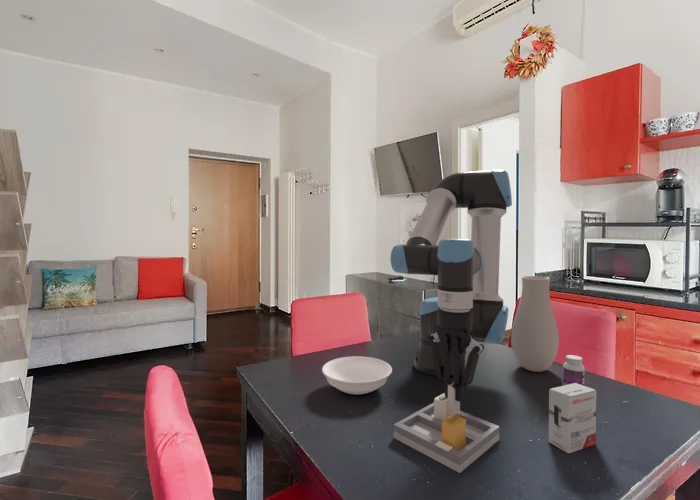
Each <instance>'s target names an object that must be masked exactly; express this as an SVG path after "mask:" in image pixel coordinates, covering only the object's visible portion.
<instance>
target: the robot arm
mask: <svg viewBox="0 0 700 500" xmlns="http://www.w3.org/2000/svg"><path fill="white" fill-rule="evenodd" d="M425 199H426V201H425V202H426V205H425V207H424V208H423V210H422V212H421V215H420V216H419V217H418V221H417V222H416V224H415V226H414V228H413V230H412V232H411V233H410V236H409V237H408V239H407V242H406V243H405V244H396V245H394V246H393V247H392V249H391V251H390V258H389V259H390V266H391V268H392V270H393V272H395V273H399V274H406V275H426V276H437V296H435V297H428V298H426V299H423V300H422V301H421V302H420V307H419V308H420V309H419V314H418V315H419V345H418V347H417V350H416V354H415V357H414V360H413V363H414V364H413V365H414V368H415V369H416V371H417V372H420V373H421V374H422V373H423V374H425V375H429V376H433V377H437V379H439V380H442V381H443V384H444V393H445V397H448V414H449V415H452V414H454V415H455V414H458V413H459V412H460V411H461V401H462V400H463V399H464V388H466V387H468V386H470V385H472V384H473V380H474V378H475V373H476V370H477V365H478V362H479V357H480V355H481V353H482V352H483V351H484V350H485V346H484V345H486V344H491V345H500V344H501V343H502V342H503V340H504V337H505V333H506V329H507V323H508V317H509V307H508V306H506V305H504V299H503V298H502V297H501V296H500V294H499V284H500V283H499V281H500V259H501V257H500V256H501V255H500V254H501V251H500V250H501V230H502V229H501V227H502V226H501V225H502V223H501V221H502V217H504V215H506V214H507V208H510V207H512V205H513V198H512V189H511V183H510V176H509V173H508V172H507V171H506V170H505V169H489V170H486V169H485V170H475V171H465V172H464V171H460V172H459V171H458V172H455V173H452V174H449V175H447V176H445V177H444V178H442V179H440V180H439V181H438V182H436V184H435V185H433V186H432V188H431V189H430V191H429V193H427V196H426V198H425ZM455 209H467V214H468V215H469V216H470V217H471V238H470V239H469V238H442V239H440V237H441V234H442V233H443V232H442V231H443V230H444V227H445V225H446V222H447V220H448V218H449V215H450V214H451V213H453V211H454V210H455ZM439 239H440V240H439ZM437 243H438V244H437ZM468 347H469V351H470V352H469V354H468V356H467V360H466V354H467V348H468Z"/></svg>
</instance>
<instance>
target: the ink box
mask: <svg viewBox="0 0 700 500" xmlns="http://www.w3.org/2000/svg"><path fill="white" fill-rule="evenodd" d="M548 392H549V393H548V443H550V444H552V445H553V446H555V447H557V448H558V449H560V450H561V451H563V452H565V453H567V455H568V454H572V453H574V452H577V451H580V450H584V449H587V448H589V447H593V446H595V445H596V444H597V440H596V436H597V433H596V432H597V390H596V389H595V388H592V387H588V386H585V385H584V386H583V385H580V384H577V383H572V384H568V385H564V386H562V385H560V386H556V387H552V388H549V389H548Z"/></svg>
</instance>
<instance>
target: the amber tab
mask: <svg viewBox="0 0 700 500" xmlns="http://www.w3.org/2000/svg"><path fill="white" fill-rule="evenodd" d="M442 442H443V443H445V444H447V445H449V446H451V447H453V449H455V450H457V451H459V450H460V449H461V448H463V447H464V446H465V444H466V419H464V418H461V417H460V414H455V415H454V414H452V415H450V416H449V417H447V418H445V419H444V420H442Z"/></svg>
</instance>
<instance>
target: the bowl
mask: <svg viewBox="0 0 700 500" xmlns="http://www.w3.org/2000/svg"><path fill="white" fill-rule="evenodd" d="M321 372H322V374H323V375H324V376H325V377H326V380H327V382H328V384H329V385H330V386H332V387H334V388H336V389H337V390H338V391H341V392H343V393H345V394H349V395H356V396H357V395H364V394H369V393H371V392H374V391H375V390H378V389H379V388H381V387H382V386H384V385H385V384H386V383H387V380H388V378H389V376H391V374H392V373H393V367H392V366H391V365H390V364H389V363H388V362H387V361H385V360H382V359H379V358H375V357H369V356H356V355H354V356H342V357H338V358H334V359H332V360H330V361H328V362H326V363H324V365H322V368H321Z"/></svg>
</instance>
